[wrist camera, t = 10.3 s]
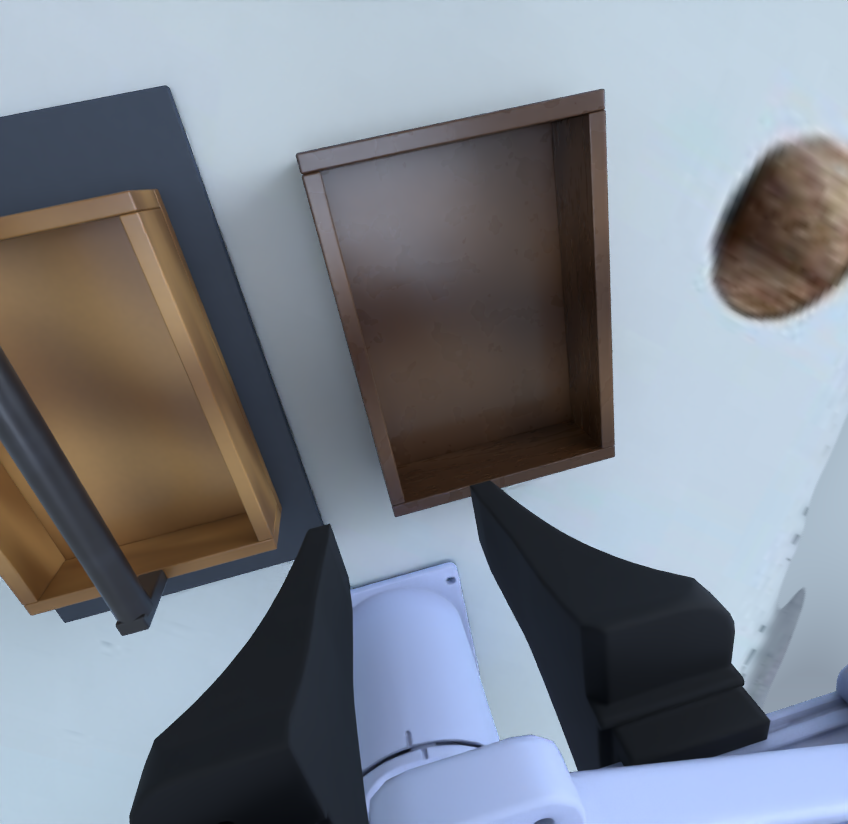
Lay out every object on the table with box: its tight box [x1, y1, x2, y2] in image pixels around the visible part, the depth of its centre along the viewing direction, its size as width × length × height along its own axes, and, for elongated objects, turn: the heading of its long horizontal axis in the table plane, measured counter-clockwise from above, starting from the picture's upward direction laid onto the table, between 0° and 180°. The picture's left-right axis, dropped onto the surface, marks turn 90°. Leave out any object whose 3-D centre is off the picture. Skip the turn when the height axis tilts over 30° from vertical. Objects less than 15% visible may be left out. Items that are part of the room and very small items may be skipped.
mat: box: [0, 86, 323, 623], centre depth 21 cm, size 20×13×1 cm, turn 11°
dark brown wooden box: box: [296, 89, 615, 517], centre depth 20 cm, size 14×10×4 cm
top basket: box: [0, 189, 282, 636], centre depth 18 cm, size 14×10×6 cm
